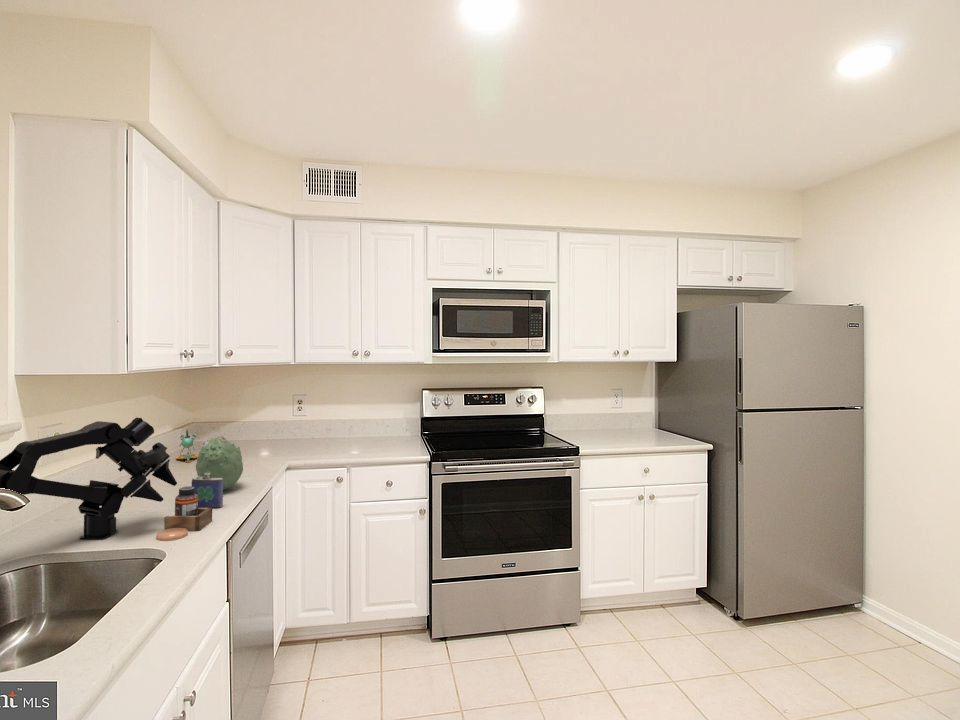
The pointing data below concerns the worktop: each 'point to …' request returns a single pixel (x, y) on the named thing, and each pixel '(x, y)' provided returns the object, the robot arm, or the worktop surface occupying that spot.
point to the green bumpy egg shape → (220, 461)
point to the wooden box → (189, 520)
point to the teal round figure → (187, 443)
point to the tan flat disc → (171, 534)
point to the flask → (208, 491)
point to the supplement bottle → (186, 502)
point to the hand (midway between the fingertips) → (169, 492)
